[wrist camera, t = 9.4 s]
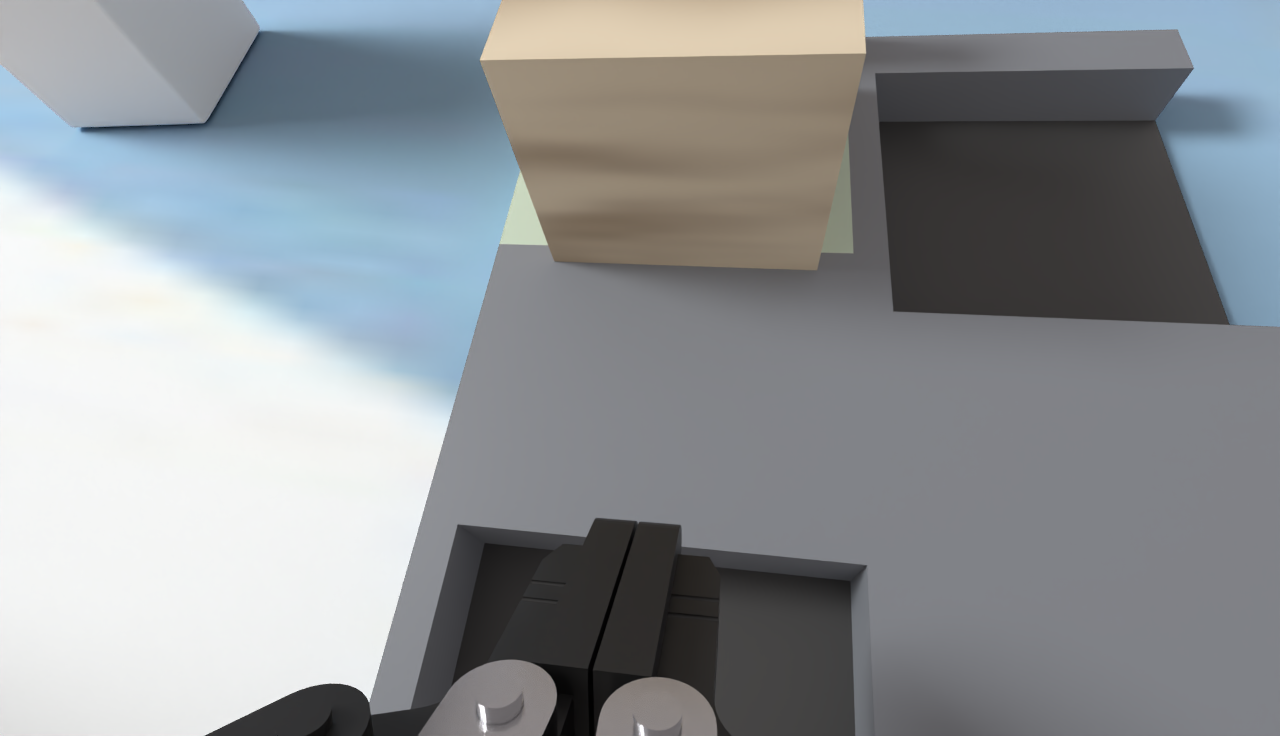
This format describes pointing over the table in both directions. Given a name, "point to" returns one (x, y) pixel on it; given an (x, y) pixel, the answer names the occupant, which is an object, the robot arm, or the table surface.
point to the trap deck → (903, 427)
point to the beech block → (679, 124)
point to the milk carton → (126, 56)
